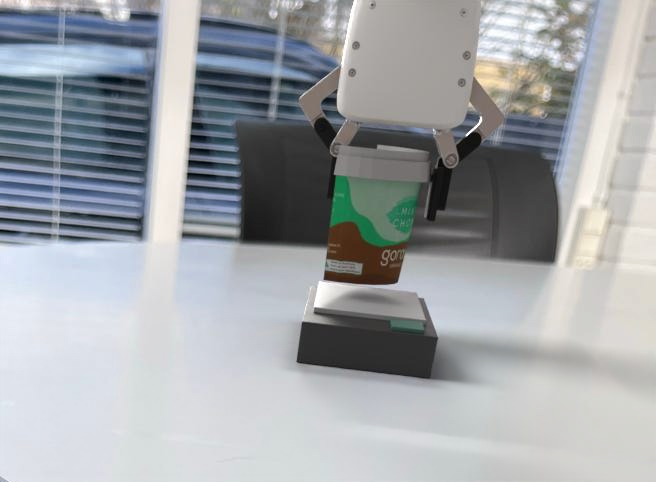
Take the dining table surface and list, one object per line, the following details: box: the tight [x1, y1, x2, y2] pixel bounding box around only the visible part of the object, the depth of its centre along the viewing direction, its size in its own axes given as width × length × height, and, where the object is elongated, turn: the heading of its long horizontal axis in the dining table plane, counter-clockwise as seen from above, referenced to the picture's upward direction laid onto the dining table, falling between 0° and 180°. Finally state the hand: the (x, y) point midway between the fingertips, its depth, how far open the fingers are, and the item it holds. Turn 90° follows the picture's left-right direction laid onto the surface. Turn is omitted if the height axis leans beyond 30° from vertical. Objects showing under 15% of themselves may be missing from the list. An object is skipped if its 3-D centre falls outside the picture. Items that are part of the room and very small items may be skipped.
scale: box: [296, 281, 439, 379], centre depth 86 cm, size 10×18×3 cm, turn 171°
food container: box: [322, 144, 432, 286], centre depth 87 cm, size 12×6×10 cm, turn 155°
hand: (383, 213), depth 86 cm, fingers closed on food container, 6 cm apart
